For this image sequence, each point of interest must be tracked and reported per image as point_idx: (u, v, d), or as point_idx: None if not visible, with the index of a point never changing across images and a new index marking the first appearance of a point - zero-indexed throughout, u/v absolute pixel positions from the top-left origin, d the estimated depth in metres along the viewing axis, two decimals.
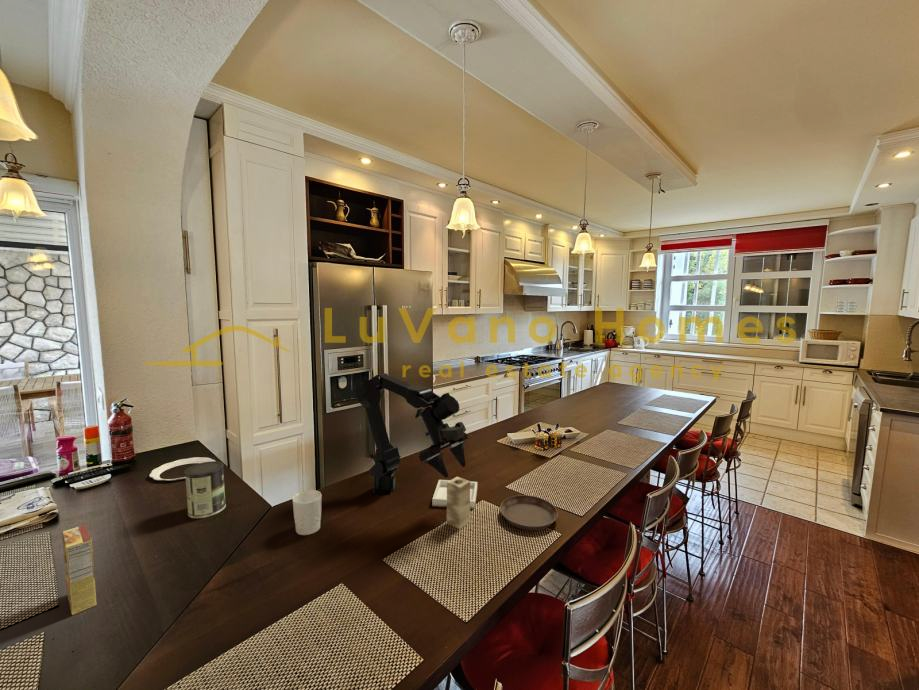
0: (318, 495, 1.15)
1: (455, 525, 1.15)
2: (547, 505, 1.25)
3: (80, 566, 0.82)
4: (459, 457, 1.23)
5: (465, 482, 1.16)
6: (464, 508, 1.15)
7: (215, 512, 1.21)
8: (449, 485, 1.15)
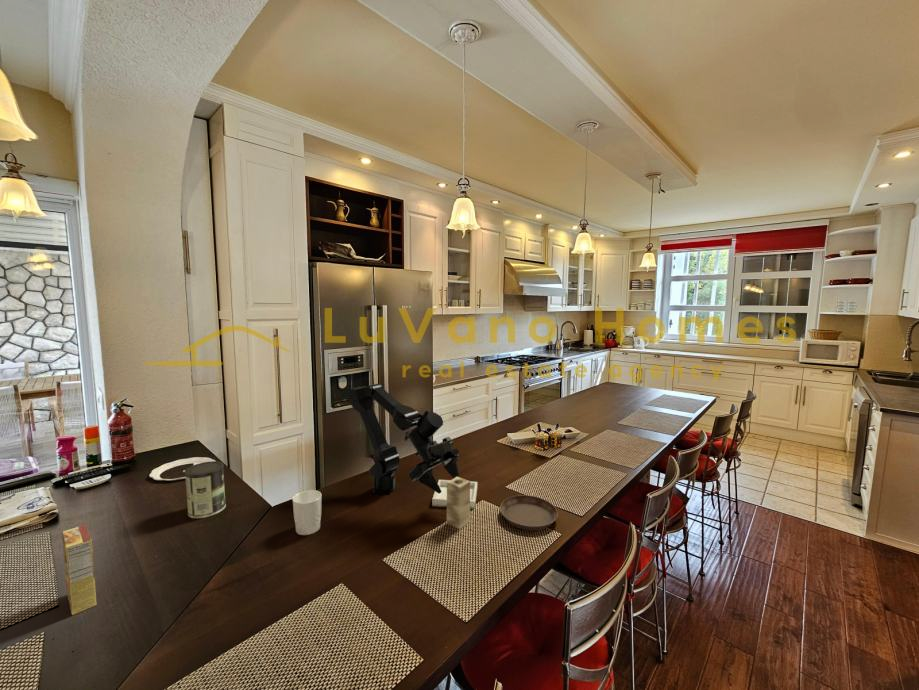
0: (318, 495, 1.15)
1: (455, 525, 1.15)
2: (547, 505, 1.25)
3: (80, 566, 0.82)
4: (453, 473, 1.24)
5: (465, 482, 1.16)
6: (464, 508, 1.15)
7: (215, 512, 1.21)
8: (449, 485, 1.15)
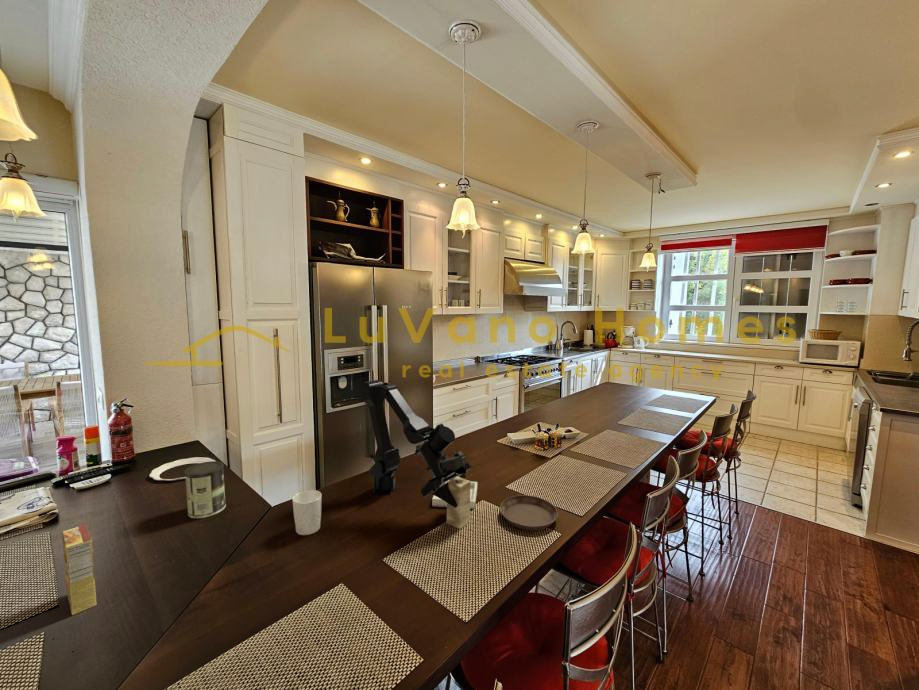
0: (318, 495, 1.15)
1: (455, 525, 1.15)
2: (547, 505, 1.25)
3: (80, 566, 0.82)
4: None
5: (465, 482, 1.16)
6: (464, 508, 1.15)
7: (215, 512, 1.21)
8: (449, 484, 1.15)
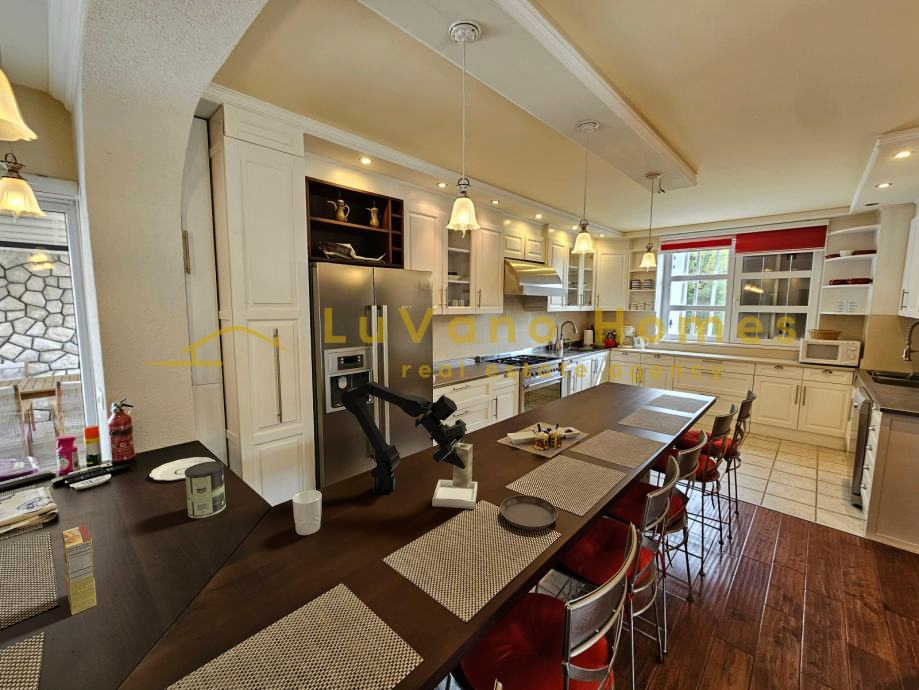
0: (318, 495, 1.15)
1: (462, 485, 1.26)
2: (547, 505, 1.25)
3: (80, 566, 0.82)
4: None
5: (469, 446, 1.27)
6: (469, 469, 1.27)
7: (215, 512, 1.21)
8: (456, 449, 1.25)
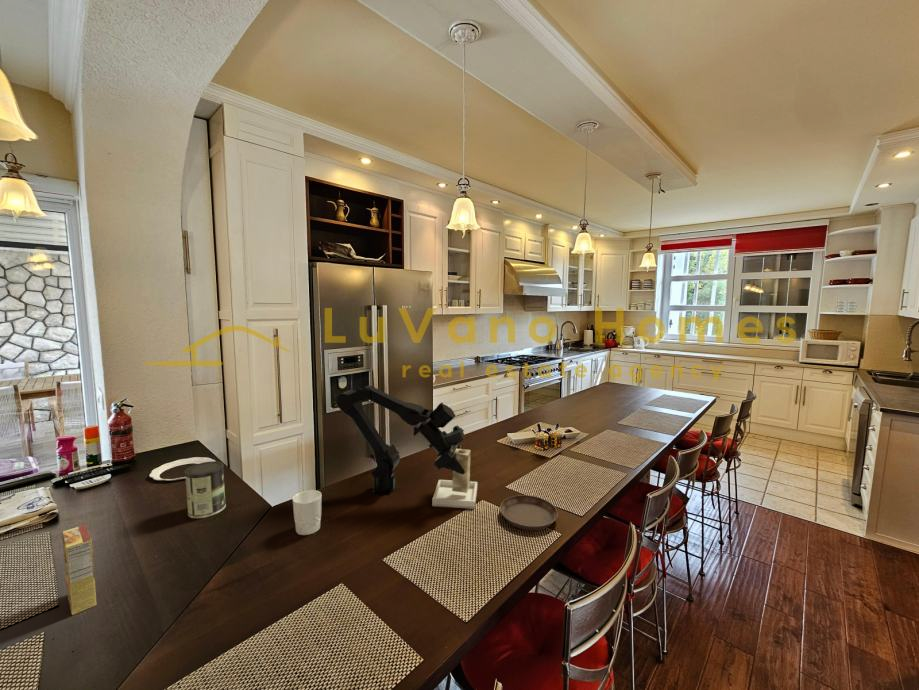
0: (318, 495, 1.15)
1: (462, 490, 1.29)
2: (547, 505, 1.25)
3: (80, 566, 0.82)
4: None
5: (468, 451, 1.31)
6: (468, 474, 1.31)
7: (215, 512, 1.21)
8: (456, 455, 1.29)
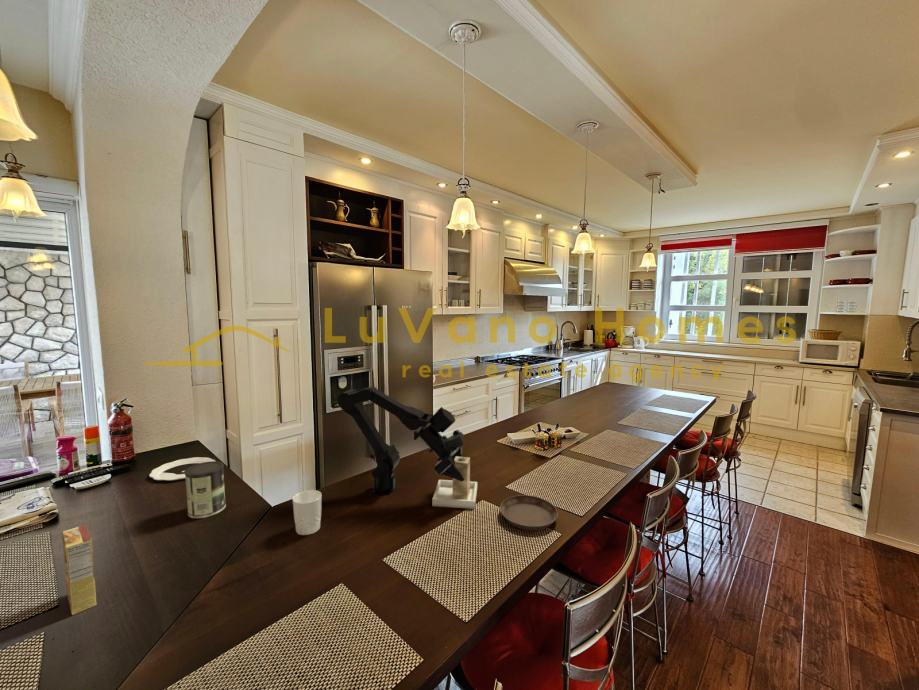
0: (318, 495, 1.15)
1: (462, 498, 1.30)
2: (547, 505, 1.25)
3: (80, 566, 0.82)
4: None
5: (467, 459, 1.32)
6: (468, 481, 1.31)
7: (215, 512, 1.21)
8: (455, 463, 1.29)
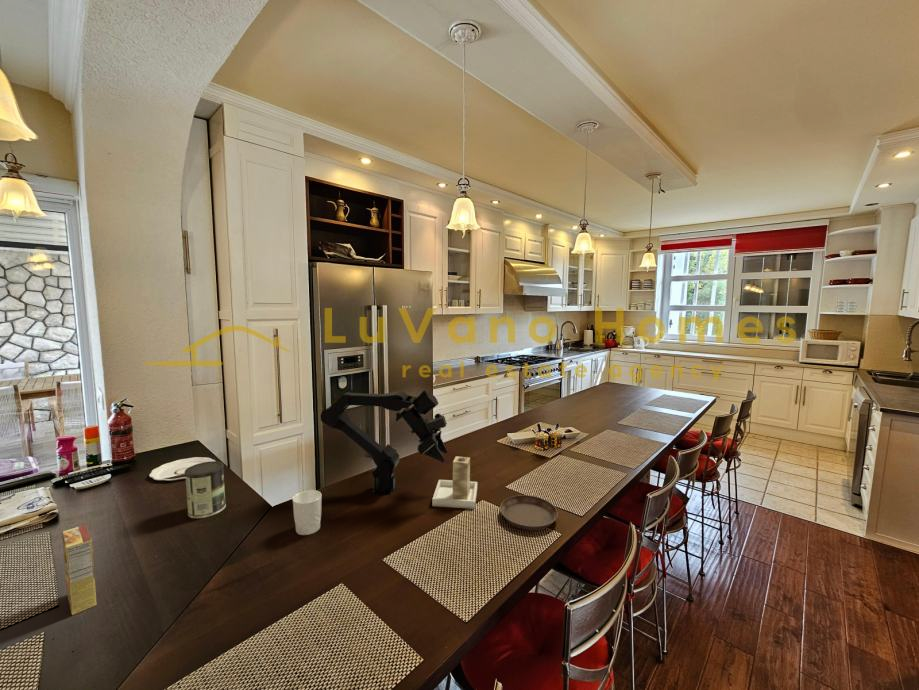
0: (318, 495, 1.15)
1: (462, 498, 1.30)
2: (547, 505, 1.25)
3: (80, 566, 0.82)
4: (439, 446, 1.38)
5: (467, 459, 1.32)
6: (468, 481, 1.31)
7: (215, 512, 1.21)
8: (455, 463, 1.29)
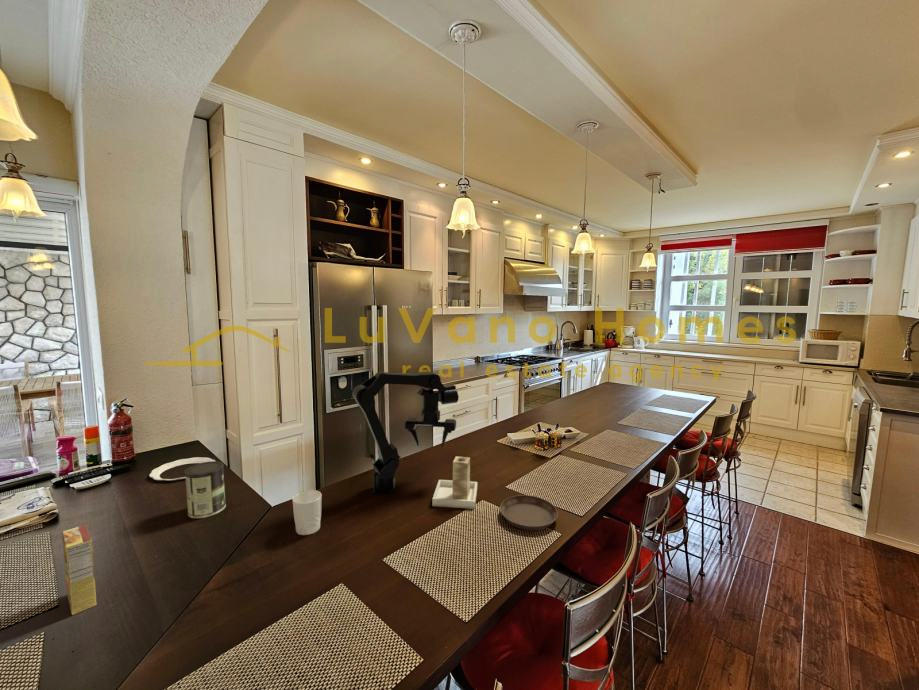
0: (318, 495, 1.15)
1: (462, 498, 1.30)
2: (547, 505, 1.25)
3: (80, 566, 0.82)
4: (418, 437, 1.45)
5: (467, 459, 1.32)
6: (468, 481, 1.31)
7: (215, 512, 1.21)
8: (455, 463, 1.29)
